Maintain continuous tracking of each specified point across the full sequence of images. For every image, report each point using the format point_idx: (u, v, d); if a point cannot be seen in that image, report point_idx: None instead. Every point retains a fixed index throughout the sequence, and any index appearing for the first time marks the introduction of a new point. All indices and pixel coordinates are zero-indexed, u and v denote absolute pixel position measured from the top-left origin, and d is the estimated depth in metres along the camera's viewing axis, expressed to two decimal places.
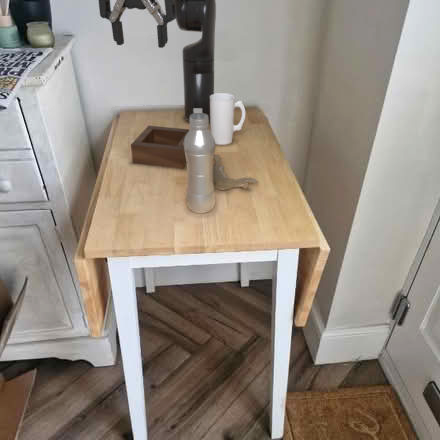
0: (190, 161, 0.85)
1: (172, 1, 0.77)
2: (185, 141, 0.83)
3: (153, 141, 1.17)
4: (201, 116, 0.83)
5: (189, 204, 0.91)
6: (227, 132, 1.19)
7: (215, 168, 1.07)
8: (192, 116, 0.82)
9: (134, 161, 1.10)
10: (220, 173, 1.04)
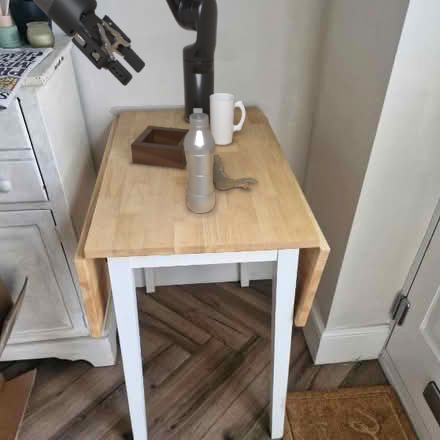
0: (190, 161, 0.85)
1: (87, 51, 0.69)
2: (185, 141, 0.83)
3: (153, 141, 1.17)
4: (201, 116, 0.83)
5: (189, 204, 0.91)
6: (227, 132, 1.19)
7: (215, 168, 1.07)
8: (192, 116, 0.82)
9: (134, 161, 1.10)
10: (220, 173, 1.04)
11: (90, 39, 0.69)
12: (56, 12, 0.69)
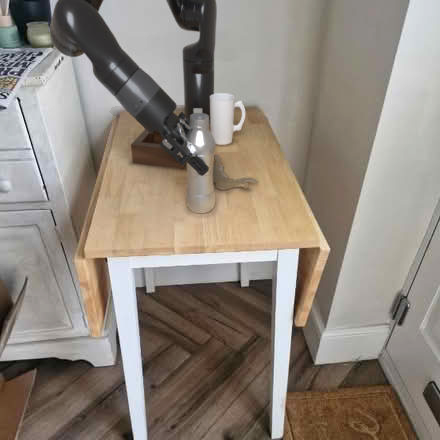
0: None
1: (174, 152, 0.80)
2: None
3: (153, 141, 1.17)
4: (201, 116, 0.82)
5: (189, 204, 0.91)
6: (227, 132, 1.19)
7: (215, 168, 1.07)
8: (192, 116, 0.82)
9: (134, 161, 1.10)
10: (220, 173, 1.04)
11: (177, 143, 0.79)
12: (143, 117, 0.79)
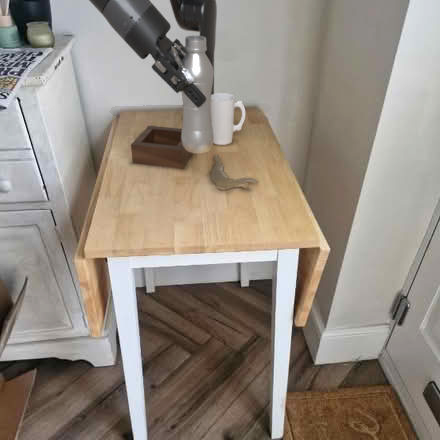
0: None
1: (168, 77, 0.72)
2: None
3: (153, 141, 1.17)
4: (198, 40, 0.75)
5: (185, 143, 0.84)
6: (227, 132, 1.19)
7: (215, 168, 1.07)
8: (188, 39, 0.74)
9: (134, 161, 1.10)
10: (220, 173, 1.04)
11: (170, 66, 0.71)
12: (134, 37, 0.71)
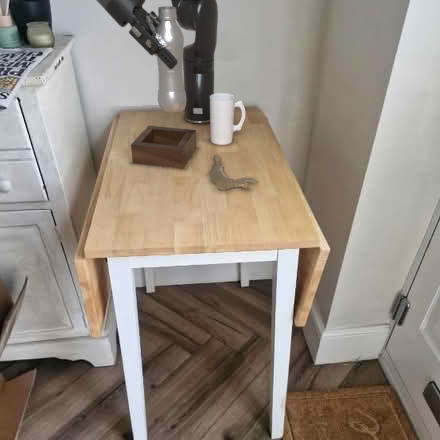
0: None
1: (143, 41, 0.84)
2: None
3: (153, 141, 1.17)
4: None
5: (161, 103, 0.95)
6: (227, 132, 1.19)
7: (215, 168, 1.07)
8: (161, 9, 0.86)
9: (134, 161, 1.10)
10: (220, 173, 1.04)
11: (145, 31, 0.83)
12: (113, 6, 0.83)
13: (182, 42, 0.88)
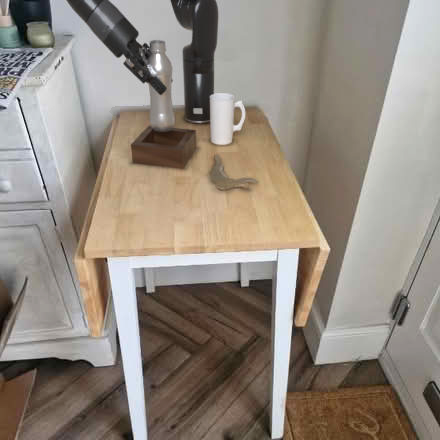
0: None
1: (136, 71, 0.96)
2: None
3: (153, 141, 1.17)
4: (159, 43, 0.99)
5: (152, 123, 1.07)
6: (227, 132, 1.19)
7: (215, 168, 1.07)
8: (152, 42, 0.98)
9: (134, 161, 1.10)
10: (220, 173, 1.04)
11: (137, 63, 0.95)
12: (110, 41, 0.95)
13: (170, 71, 1.00)
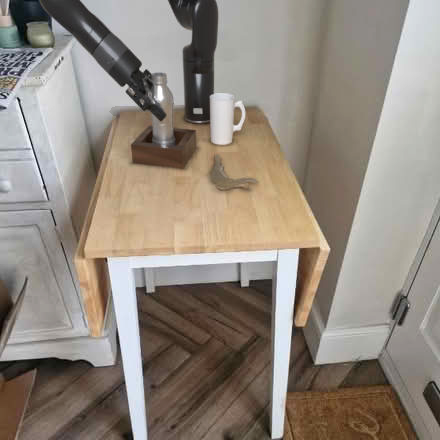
0: None
1: (136, 98, 0.99)
2: None
3: None
4: (161, 75, 1.03)
5: None
6: (227, 132, 1.19)
7: (215, 168, 1.07)
8: (154, 75, 1.03)
9: (134, 161, 1.10)
10: (220, 173, 1.04)
11: (138, 91, 0.98)
12: (114, 72, 0.99)
13: (172, 101, 1.05)
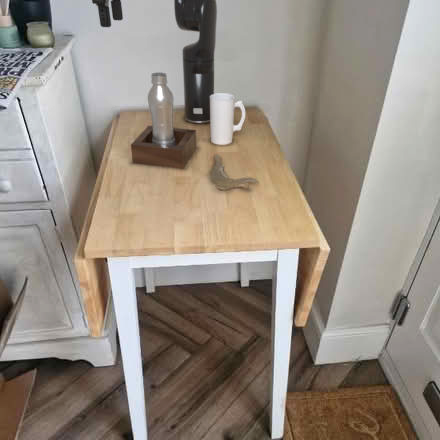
0: (153, 112, 1.05)
1: None
2: (148, 95, 1.04)
3: None
4: (161, 75, 1.03)
5: None
6: (227, 132, 1.19)
7: (215, 168, 1.07)
8: (154, 75, 1.03)
9: (134, 161, 1.10)
10: (220, 173, 1.04)
11: None
12: None
13: (172, 101, 1.05)
